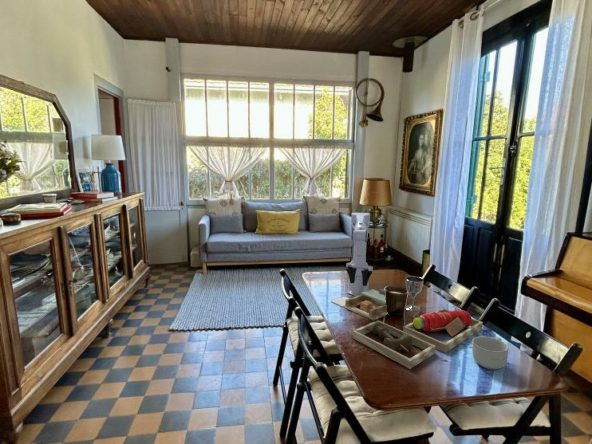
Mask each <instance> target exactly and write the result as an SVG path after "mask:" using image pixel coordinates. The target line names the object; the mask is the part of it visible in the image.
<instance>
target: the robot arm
mask: <svg viewBox="0 0 592 444" xmlns="http://www.w3.org/2000/svg"><path fill="white" fill-rule="evenodd" d="M350 223H351V224H350V225H351V228H352V229H354V230H353V231H352V232H353V234H352V235H353V239H352V240H353V256H352V260H351V261H350V262H346V265H345V266H346V268H345V271H346V272H347V275H348V279H349V283H350V290H349V291H347V294H350V295H352V296H353V297H356V296H359V295H362V294H361V293H362V292H365V291H368V290H370V289H369V287H370V285H369V283H370V281H369V280H370V277H371V275H372V274H373V270H374V267H373V266H372V265H369V264H368V262H366V261H367V260H366V259H367V256H366V255H367V242H368V237H369V236H368V235H369V232H368V230H369V228H370V223H371V213H370V212H352V213H351V221H350Z"/></svg>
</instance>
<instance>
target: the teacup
mask: <svg viewBox="0 0 592 444" xmlns="http://www.w3.org/2000/svg"><path fill="white" fill-rule="evenodd" d="M471 343H472V347H471V348H472V352H471V353H472V357H473V360H474V361H475V362H477V364H479V366H481V367H483V368H484V369H489V370H499V369H501V368H503V367H504V366H507V365H506V364H507V362H508V358H509V357H508V356H509V355H508V354H509V346H508V344H507V343H506V342H505V341H503V340H502V338H500V337H497V336H496V337H495V338H494V337H492V336H491V337H490V336H483V335H482V336H481V335H479V336H476V337H473V338H472V340H471Z"/></svg>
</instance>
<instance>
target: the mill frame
mask: <svg viewBox="0 0 592 444" xmlns="http://www.w3.org/2000/svg"><path fill="white" fill-rule="evenodd" d="M377 323H382V324H383V326H384V328H387V329H388V330H389V333H390V335H391V336H394V337H397V339H399V338H400V337H401V336H402V335H403V334H404V333H406V332H404V331H403V330H401V329H400V328H399V329H398V328H396V327H394V326H392V325H390V324H388V323H386V322H383V321H381V320H379V319H376V320H374V321H373V322H370V323H368V324H365V325H364V326H360V327H359V328H356V329H354V330H352V339H354V340H355V341H357V342H359V343H361V344H363V345H364V346H367V347H369V348H370V349H372V350H375V352H378V353H379V354H381V355H383V356H384V357H387V358H389V359H390V360H393V361H394V362H397V364H400V365H401V366H404V367H405V368H407V369H409V370H411V369H413V368H414V367H416V366H417V365H419V364H421V363H422V362H424V361H425V360H427V359H429V358H430V357H432V356H433V355H435V354H436V346H435V345H433V344H430V343H428V342H426V341H424V340H422V339H419V338H417V337H415V336H413V335H410V334H408V333H407V334H408V335H409V336H410V337H411V339H412V342H413V346H415V347H417V348H419V349H422V351H420V352H419V353H417V354H415V355H414V356H412V357H407V356H406V355H404V354H401V353H400V352H398V351H396V350H395V351H394V350H392V349H390V348H388V347H386V346H384V344H382V343H381V342H378V341H376V340H374V339H372V338H370V337H368V336H366V335H367V334H369V333H371V332H373V326H374V325H375V324H377Z"/></svg>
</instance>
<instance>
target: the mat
mask: <svg viewBox="0 0 592 444" xmlns="http://www.w3.org/2000/svg"><path fill="white" fill-rule="evenodd" d="M350 298H351V297H350ZM350 298H349V297H347V296H342V297H339V298H336V299H333V300H330V302H331V303H332V304H335V305H337V306H339V307H342V308H345V307H344V305H345V301H346V300H347V299H350Z"/></svg>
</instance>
